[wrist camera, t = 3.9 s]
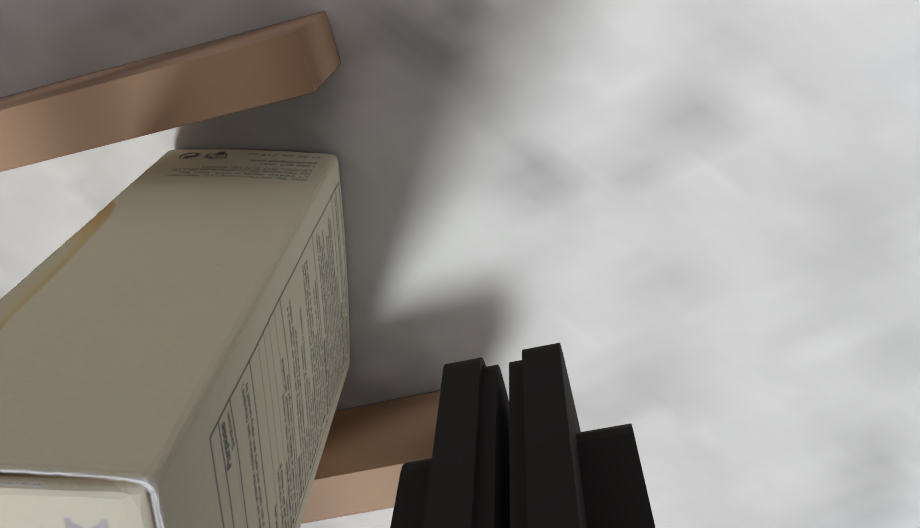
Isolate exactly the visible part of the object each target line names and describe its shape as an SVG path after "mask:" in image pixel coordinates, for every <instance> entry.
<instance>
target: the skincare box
mask: <svg viewBox="0 0 920 528" xmlns="http://www.w3.org/2000/svg"><path fill="white" fill-rule="evenodd" d="M349 364H350V332H349V302H348V281H347V265H346V247H345V233H344V219H343V207H342V195H341V185H340V175H339V163H338V158H337V157H336V156H335V155H333V154H323V153H303V152H288V151H267V150H238V149H186V150H171V151H168V152H167V153H166V154H165V155H164V156H162V157H161V158H160V159H159V160H158V161H157V162H156V163H155V164H153V165H152V166H151V167H150V168H149V169H147V170H146V171H145V172H144V173H143V174H142V175H141V176H140V177H139V178H137V179H136V180H135V181H134V182H133V183H131V184H130V185H129V186H128V187H127V188H126V189H125V190H124V191H122V192H121V193H120V194H119V195H118V196H117V197H116V198H115V199H114V200H112V201H111V202H110V203H109V204H108V205H107V206H106V207H105V208H104V209H103V210H101V211H100V212H99V213H98V214H97V215H96V216H95V217H94V218H93V219H91V220H90V221H89V222H88V223H87V224H86V225H85V226H84V227H82V228H81V229H80V230H79V231H78V232H77V233H75V234H74V235H73V236H72V237H71V238H70V239H68V240H67V241H66V242H65V243H64V244H63V245H62V246H61V247H60V248H58V249H57V250H56V251H55V252H54V253H52V254H51V255H50V256H49V257H48V258H47V259H46V260H45V261H43V262H42V263H41V264H40V265H39V266H38V267H37V268H35V269H34V270H33V271H32V272H31V273H30V274H29V275H28V276H27V277H26V278H24V279H23V280H22V281H21V282H20V283H19V284H18V285H17V286H15V287H14V288H13V289H12V290H11V291H10V292H8V293H7V294H6V295H5V296H4V297H3V298H1V299H0V528H300V525H301V522H302V518H303V515H304V512H305V509H306V505H307V502H308V499H309V495H310V492H311V489H312V485H313V482H314V479H315V476H316V472H317V469H318V466H319V463H320V459H321V456H322V453H323V450H324V446H325V443H326V440H327V437H328V433H329V430H330V426H331V423H332V420H333V417H334V413H335V410H336V407H337V404H338V401H339V398H340V395H341V391H342V388H343V385H344V382H345V379H346V375H347V372H348V369H349Z"/></svg>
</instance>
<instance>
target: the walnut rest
mask: <svg viewBox="0 0 920 528" xmlns="http://www.w3.org/2000/svg"><path fill="white" fill-rule="evenodd" d="M340 64H341V61H340V58H339V55H338V52H337V49H336V45H335V42H334V39H333V36H332V32H331V29H330V26H329V23H328V19H327V16H326V13H325V11H323V12H319V13H316V14H312V15H308V16H304V17H301V18H297V19H293V20H290V21H286V22H282V23H278V24H275V25H271V26H267V27H263V28H260V29H256V30H252V31H248V32H245V33H241V34H237V35H234V36H230V37H226V38H222V39H219V40H215V41H211V42H207V43H204V44H200V45H196V46H192V47H189V48H185V49H181V50H178V51H174V52H170V53H166V54H163V55H159V56H155V57H151V58H148V59H144V60H140V61H137V62H133V63H129V64H125V65H122V66H118V67H114V68H110V69H107V70H103V71H99V72H95V73H92V74H88V75H84V76H81V77H77V78H73V79H69V80H66V81H62V82H58V83H54V84H51V85H47V86H43V87H39V88H36V89H32V90H28V91H25V92H21V93H17V94H13V95H10V96H6V97H2V98H0V172H2V171H6V170H10V169H14V168H18V167H22V166H26V165H30V164H34V163H38V162H42V161H45V160H49V159H53V158H57V157H61V156H65V155H69V154H73V153H77V152H81V151H85V150H89V149H93V148H97V147H101V146H105V145H108V144H112V143H116V142H120V141H124V140H128V139H132V138H136V137H140V136H144V135H148V134H152V133H156V132H160V131H164V130H168V129H171V128H175V127H179V126H183V125H187V124H191V123H195V122H199V121H203V120H207V119H211V118H215V117H219V116H223V115H227V114H231V113H234V112H238V111H242V110H246V109H250V108H254V107H258V106H262V105H266V104H270V103H274V102H278V101H282V100H286V99H290V98H294V97H298V96H301V95H305V94H309V93H313V92H315V91H316V90H317V89H318V88H319V87H320V86H321V85H322V83H323V82H324V81H325V80H326V79H327V78H328V77H329V76H330V75H331V74H332V73H333V71H334V70H335V69H336V68H337V67H338V66H339V65H340ZM439 399H440V391H437V392H432V393H427V394H422V395H417V396H412V397H407V398H401V399H396V400H391V401H386V402H381V403H376V404H371V405H366V406H361V407H356V408H350V409H345V410H340V411H335V413H334V417H333V420H332V423H331V426H330V430H329V433H328V437H327V440H326V443H325V446H324V450H323V453H322V456H321V459H320V463H319V466H318V469H317V472H316V476H315V479H314V482H313V485H312V489H311V492H310V495H309V499H308V502H307V505H306V509H305V512H304V515H303V518H302V522H301V524H302V523H308V522H313V521H319V520H325V519H330V518H336V517H342V516H347V515H353V514H358V513H364V512H370V511H375V510H381V509H387V508H392V507H394V505H395V499H396V494H397V488H398V483H399V477H400V472H401V469H402V465H403V464H405V463H407V462H413V461H418V460H424V459H430V458H432V453H433V445H434V438H435V430H436V422H437V414H438V406H439Z"/></svg>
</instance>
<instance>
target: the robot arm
mask: <svg viewBox="0 0 920 528" xmlns="http://www.w3.org/2000/svg"><path fill="white" fill-rule="evenodd" d="M390 528H655V524H654V520H653V515H652V511H651V507H650V502H649V498H648V493H647V489H646V485H645V480H644V476H643V472H642V467H641V463H640V458H639V454H638V450H637V445H636V441H635V437H634V432H633V428H632V424H625V425H620V426H614V427H608V428H602V429H597V430H591V431H585V432H581V431H580V427H579V422H578V418H577V413H576V409H575V405H574V400H573V396H572V391H571V387H570V383H569V378H568V374H567V369H566V365H565V361H564V356H563V352H562V348H561V345H560V343H556V344H550V345H545V346H540V347H535V348H529V349H524V350H522V360H520V361H515V362H510V363H509V400H508V396H507V392H506V388H505V384H504V381H503V377H502V373H501V370H500V367H499V365H493V366H488V367H486V365H485V362H484V360H483V358H476V359H471V360H466V361H461V362H455V363H450V364H445V365H444V368H443V375H442V383H441V391H440V399H439V406H438V414H437V422H436V430H435V438H434V445H433V453H432V458H430V459H424V460H418V461H413V462H407V463H405V464H403V465H402V469H401V472H400V477H399V483H398V488H397V494H396V499H395V505H394V511H393V516H392V522H391V527H390Z"/></svg>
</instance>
